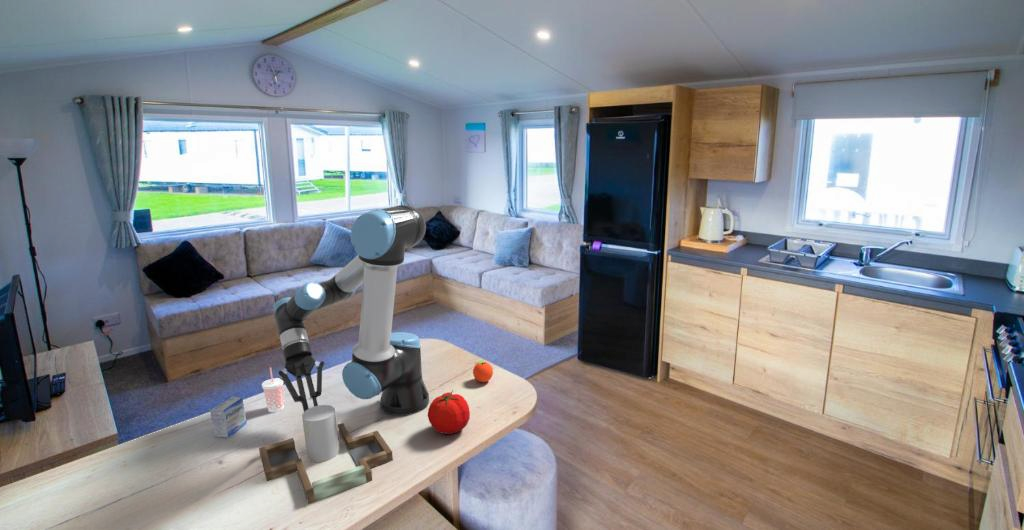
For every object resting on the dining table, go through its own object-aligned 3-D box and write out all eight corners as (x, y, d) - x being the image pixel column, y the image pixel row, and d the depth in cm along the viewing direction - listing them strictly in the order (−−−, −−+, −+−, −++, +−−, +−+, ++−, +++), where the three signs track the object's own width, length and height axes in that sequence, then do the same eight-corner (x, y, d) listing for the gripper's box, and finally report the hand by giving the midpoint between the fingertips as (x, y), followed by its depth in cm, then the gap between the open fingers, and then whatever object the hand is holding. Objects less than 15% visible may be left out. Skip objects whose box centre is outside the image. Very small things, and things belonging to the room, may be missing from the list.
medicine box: (227, 438, 144) (223, 411, 142) (214, 437, 145) (209, 409, 143) (247, 423, 152) (243, 397, 150) (234, 422, 153) (229, 396, 151)
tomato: (468, 417, 153) (467, 383, 150) (472, 439, 142) (470, 402, 139) (428, 422, 151) (426, 387, 148) (428, 444, 140) (426, 407, 137)
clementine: (467, 380, 177) (466, 361, 175) (482, 373, 181) (482, 355, 180) (481, 387, 171) (481, 368, 169) (497, 381, 176) (497, 362, 174)
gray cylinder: (312, 445, 140) (307, 405, 137) (342, 443, 141) (338, 404, 138) (303, 463, 132) (297, 421, 130) (335, 461, 133) (330, 420, 130)
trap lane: (367, 423, 151) (366, 411, 150) (399, 470, 129) (398, 456, 128) (260, 456, 136) (258, 442, 135) (275, 515, 114) (273, 500, 113)
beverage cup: (276, 414, 156) (270, 372, 153) (260, 411, 158) (254, 370, 155) (291, 405, 162) (285, 364, 159) (275, 402, 164) (270, 362, 161)
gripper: (317, 347, 158) (336, 419, 149) (272, 356, 152) (288, 432, 142) (319, 336, 153) (339, 410, 143) (272, 346, 146) (289, 424, 136)
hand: (314, 421), depth 143 cm, fingers closed
